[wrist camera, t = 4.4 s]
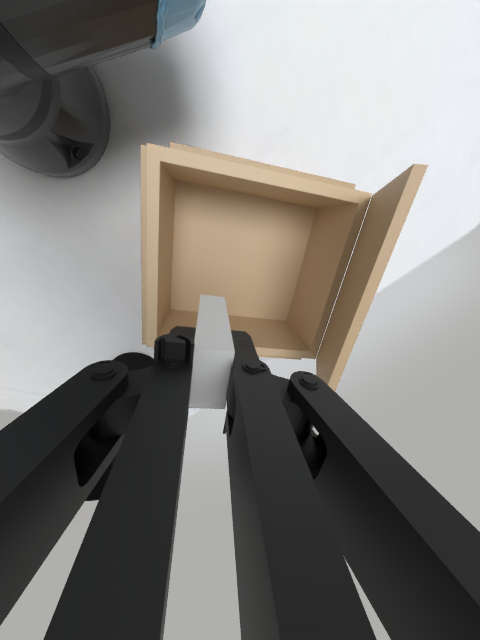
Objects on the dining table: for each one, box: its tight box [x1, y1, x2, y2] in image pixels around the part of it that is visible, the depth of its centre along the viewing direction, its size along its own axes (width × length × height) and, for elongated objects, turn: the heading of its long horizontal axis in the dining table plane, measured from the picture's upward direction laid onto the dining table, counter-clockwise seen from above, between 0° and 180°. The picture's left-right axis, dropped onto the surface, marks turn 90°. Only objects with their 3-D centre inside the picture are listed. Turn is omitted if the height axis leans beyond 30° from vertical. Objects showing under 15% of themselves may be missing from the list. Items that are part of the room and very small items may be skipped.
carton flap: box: [316, 164, 428, 392], centre depth 24 cm, size 12×22×1 cm
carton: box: [141, 142, 372, 359], centre depth 32 cm, size 25×23×12 cm
